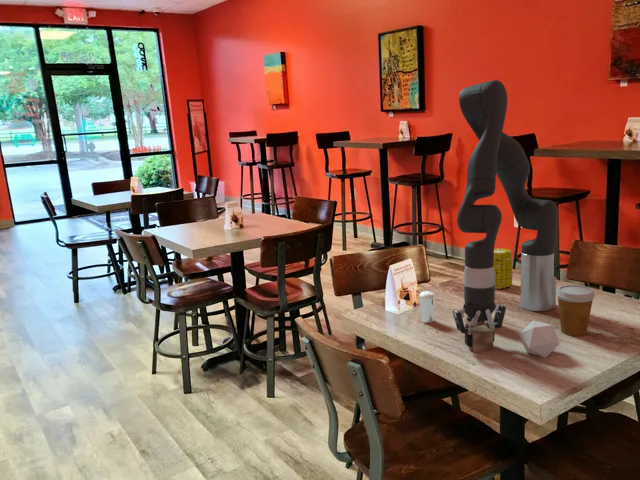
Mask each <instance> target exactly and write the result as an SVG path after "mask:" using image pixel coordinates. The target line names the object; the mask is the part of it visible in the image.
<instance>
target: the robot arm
mask: <svg viewBox="0 0 640 480" xmlns="http://www.w3.org/2000/svg"><path fill="white" fill-rule="evenodd" d="M458 104H459V108H460V110H461V114H462V115H463V117H464V119H465V121H466V123H467V124H468V126H469V127H470V129H471V130H472V132H473V133H474V134H475V136H476V137H477V139H478V143H477V144H476V146H475V147H474V148H473V151H472V152H471V155H470V157H469V158H468V159H469V160H468V163H467V168H466V169H467V171H466V182H465V183H466V186H465V192H464V196H463V198H462V202H461V205H460V206H459V210H458V212H457V214H456V215H457V216H456V224H457V228H458V229H459V230H460V232H462V233H466V234H486V235H485V237H484V238H482V239H479V240H474V241H473V240H472V241H469V242H468V243H466V244H465V246H464V271H463V299H464V301H463V302H464V303H463V304H464V305H463V306H462V308H460V309H453V310H452V314H453V318H454V322H455V326H456V329H457V331H459V332H460V333H461V334H464V344H465V345H466V346H467V347H468V348H469V349H470V348H472V347H473V335H472V331H473V328H474V327H475V326H477V325H476V323H477V322H479V321H485V326H486V327H488V328H489V329H490V330H492V331H493V343H495V340H496V339H495V331H496V330H497V329H501V328H502V327H503V323H504V320H505V319H504V318H505V316H506V315H505V314H506V309H507V307H506V306H505V305H503V304H502V303H500V302H499V303H497V304H496V303H495V297H496V294H495V293H496V290H495V272H494V249H495V244H496V240H497V236H498V234H499V233H498V232H499V230H500V227H501V223H502V218H503V215H502V211H501V210H500V208H499V207H498V206H497V205H495V204H475V203H476V202H477V201H479V200H480V199H485V198H489V197H492V196H493V195H494V194H495V191H496V184H497V183H496V179H497V178H498V181H500V183H501V186H502V188H503V191H504V192H505V195H506V197H507V200H508V202H509V204H510V207H511V208H510V209H511V210H512V213H513V217H514V218H515V221H516V223H517V224H518V225H519V226H520V227H521V228H522V229H525V230H532V231H536V237H535V238H534V239H529V240H525V241H523V242H522V243H521V247H520V248H521V250H520V251H521V252H520V253H521V255H520V256H521V257H520V259H521V262H520V307H521V308H523V310H524V309H525V310H527V311H532V312H533V311H534V312H546V311H549V310H550V311H551V310H552V309H554V308H555V309H556V307H557V306H556V305H557V295H556V292H557V277H556V276H554V270H555V269H554V268H555V265H554V264H555V262H554V261H555V247H556V244H557V236H558V235H557V233H558V223H559V209H558V206H557V204H556V202H555V201H553V200H551V199H550V200H548V199H537V198H532V197H531V196H530V195H529V194H528V191H527V189H526V183H527V181H528V178H529V176H530V171H531V164H530V161H529V158H528V157H527V154H526V152H525V150H524V148H523V146H522V144H521V143H519V142H518V141H517V140H516V139H515V138H513V137H511V136H510V135H508V134H506V133H505V132H504V131H503V129H504V125H505V120H506V115H507V111H508V110H507V109H508V93H507V90H506V87H505V85H504V84H503V82H501V81H500V80H498V79H494V80H489V81H484V82H481V83H478V84H473V85H470V86H469V85H468V86H467V87H464V88H463V89H461V90H460V92H459V94H458ZM496 177H497V178H496ZM493 313H494V317H492V315H493ZM465 314H466V318H465V320H463V318H464V317H465V316H464V315H465ZM471 320H472V321H471ZM464 321H465V324H464Z"/></svg>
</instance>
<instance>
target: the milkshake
mask: <svg viewBox="0 0 640 480" xmlns="http://www.w3.org/2000/svg"><path fill="white" fill-rule="evenodd" d="M438 289H439V288H438ZM438 289H436V291H435V293H434V292H433V291H429V290H425V291H421V292H420V293H419V295H418V297H419V304H420V305H419V306H420V312H421V313H420V314H421V321H422V323H425V324H431V323H434V320H435V319H434V315H435V314H434V313H435V303H436V302H435V299H436V293H437V292H438V291H439V290H438Z"/></svg>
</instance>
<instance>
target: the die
mask: <svg viewBox="0 0 640 480" xmlns="http://www.w3.org/2000/svg"><path fill="white" fill-rule="evenodd" d="M518 334H519V337H520V340H521V342H522V344H523V347H524V349H525V352H526V353H528V354H531V355H535V356H537V357H541V358H543V359H544V358H545V359H546V358H547V357H549V355H550V354H551V353H552V352H553V351H554V350H555V349H556V348H557V347H558V346H559V345H560V344H561V343H560V341H559V338H558V336H557V333H556V331H555V328H554V326H553V325H552V324H550V323H545V322H542V321H537V320H532V321H531V322H530V323H529V324H528V325H526V326H525V328H524V329H522V330H521V332H519V333H518Z"/></svg>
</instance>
